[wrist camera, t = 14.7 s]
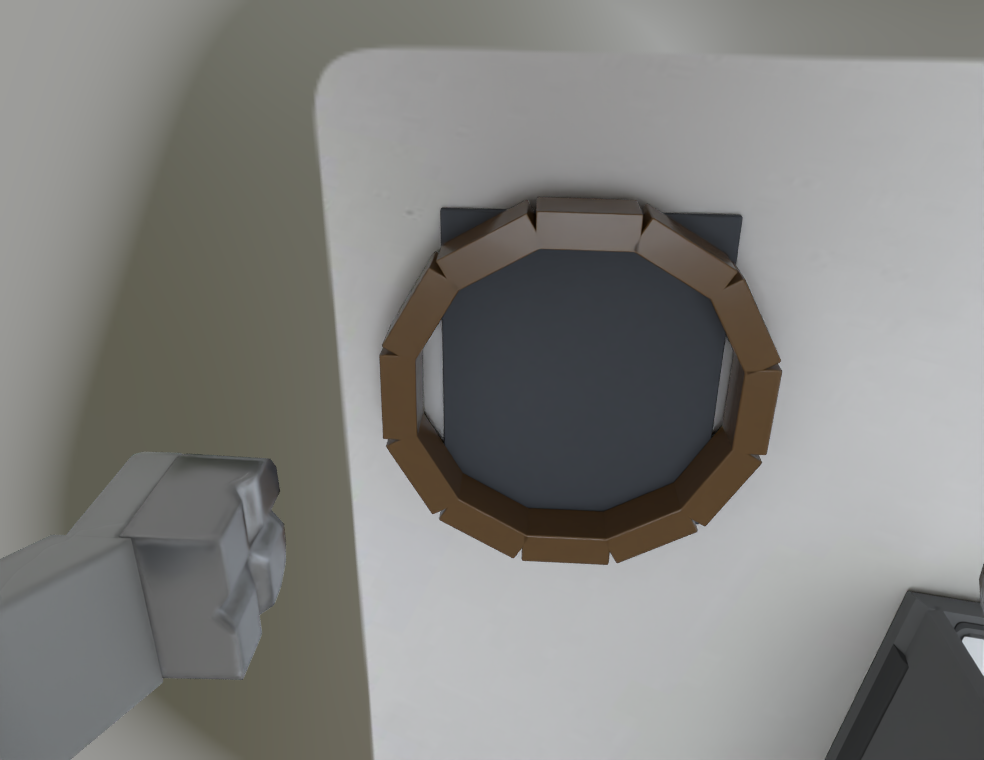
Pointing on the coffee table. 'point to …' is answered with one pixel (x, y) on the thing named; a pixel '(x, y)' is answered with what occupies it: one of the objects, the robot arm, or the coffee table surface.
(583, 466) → the mat
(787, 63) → the coffee table surface
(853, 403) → the coffee table surface
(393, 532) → the coffee table surface
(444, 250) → the hoop
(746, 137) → the coffee table surface
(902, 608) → the laptop
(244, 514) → the robot arm
